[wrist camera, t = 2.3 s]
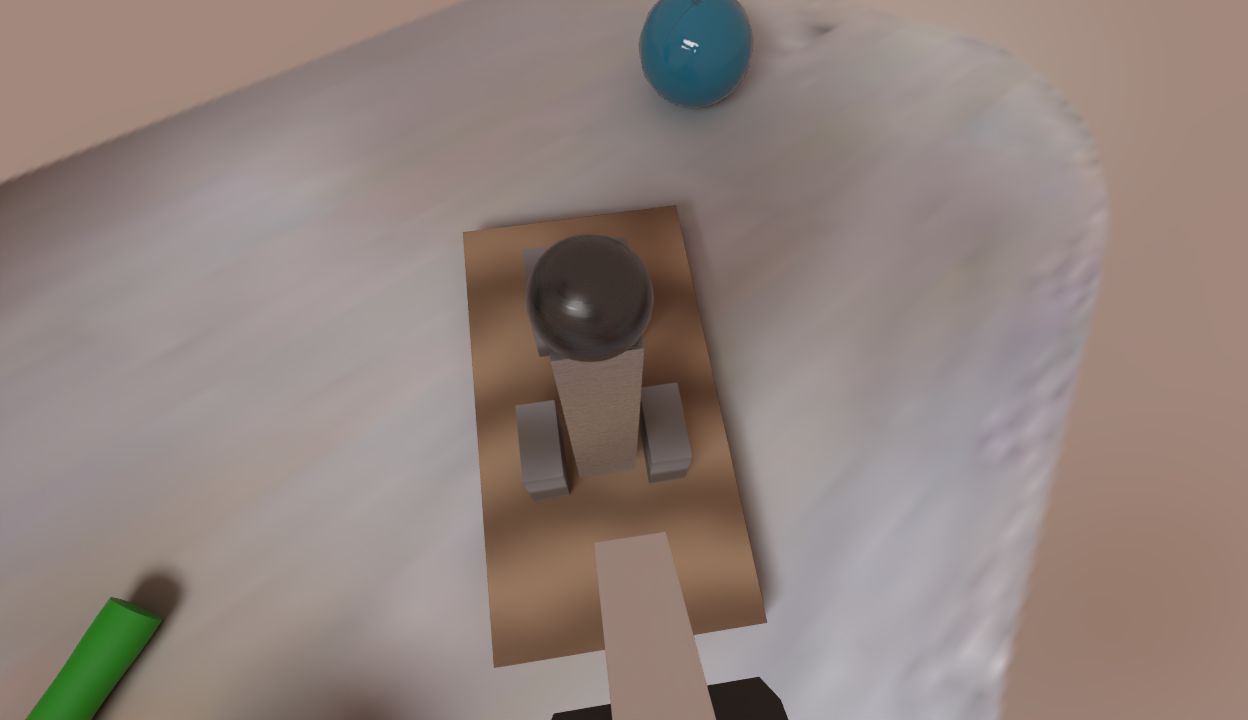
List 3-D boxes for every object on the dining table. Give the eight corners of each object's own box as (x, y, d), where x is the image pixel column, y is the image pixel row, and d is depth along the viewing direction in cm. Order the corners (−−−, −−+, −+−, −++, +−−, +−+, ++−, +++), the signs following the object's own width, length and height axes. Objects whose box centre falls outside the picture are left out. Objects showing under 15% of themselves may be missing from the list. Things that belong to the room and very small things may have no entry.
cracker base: (760, 623, 37) (801, 616, 28) (500, 666, 36) (462, 672, 27) (673, 222, 47) (684, 128, 38) (469, 248, 46) (434, 158, 37)
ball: (765, 93, 51) (789, 0, 44) (689, 150, 49) (701, 63, 42) (691, 35, 54) (702, -62, 46) (615, 87, 52) (614, -6, 44)
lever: (646, 477, 36) (667, 317, 19) (571, 488, 36) (523, 337, 19) (634, 407, 38) (644, 199, 20) (562, 417, 38) (510, 216, 20)
